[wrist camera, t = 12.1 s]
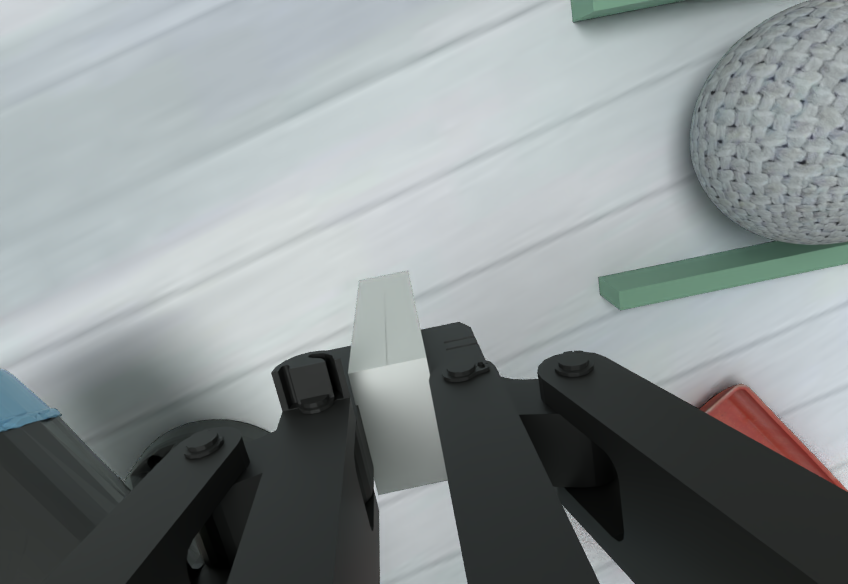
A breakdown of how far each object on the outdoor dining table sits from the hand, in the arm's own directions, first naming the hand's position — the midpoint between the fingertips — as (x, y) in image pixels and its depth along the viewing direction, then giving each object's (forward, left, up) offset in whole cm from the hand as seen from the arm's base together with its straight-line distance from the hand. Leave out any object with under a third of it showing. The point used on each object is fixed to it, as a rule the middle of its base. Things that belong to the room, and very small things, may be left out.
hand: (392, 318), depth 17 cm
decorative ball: (+10, -26, -27) cm, 39 cm away
